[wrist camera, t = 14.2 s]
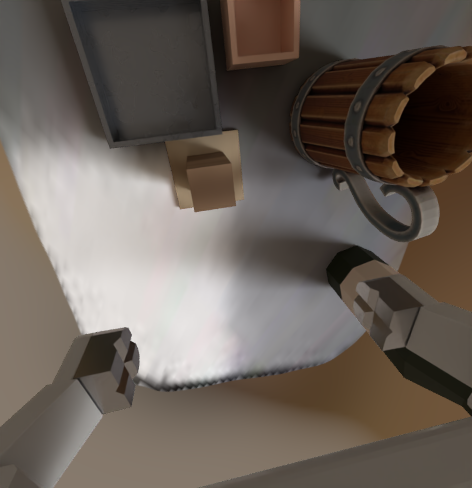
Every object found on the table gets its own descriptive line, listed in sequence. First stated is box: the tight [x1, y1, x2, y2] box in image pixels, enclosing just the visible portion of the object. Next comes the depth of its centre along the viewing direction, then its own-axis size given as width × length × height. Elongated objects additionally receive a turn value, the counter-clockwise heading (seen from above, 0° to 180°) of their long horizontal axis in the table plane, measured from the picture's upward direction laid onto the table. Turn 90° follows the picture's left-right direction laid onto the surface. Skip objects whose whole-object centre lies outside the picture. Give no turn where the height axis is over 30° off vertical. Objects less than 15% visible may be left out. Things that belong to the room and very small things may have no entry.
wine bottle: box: [326, 246, 472, 416], centre depth 27 cm, size 8×8×30 cm
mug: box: [289, 45, 472, 242], centre depth 24 cm, size 16×11×15 cm
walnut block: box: [186, 152, 236, 212], centre depth 26 cm, size 4×4×7 cm
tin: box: [61, 0, 222, 148], centre depth 23 cm, size 11×11×3 cm
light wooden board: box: [165, 130, 244, 209], centre depth 29 cm, size 8×8×1 cm
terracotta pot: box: [220, 0, 300, 71], centre depth 22 cm, size 6×6×4 cm
